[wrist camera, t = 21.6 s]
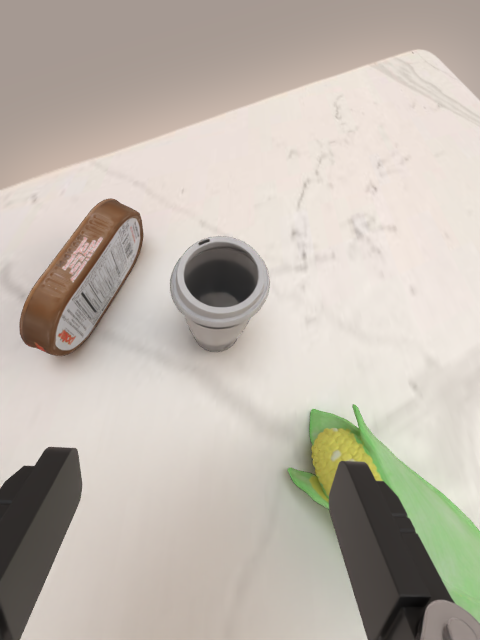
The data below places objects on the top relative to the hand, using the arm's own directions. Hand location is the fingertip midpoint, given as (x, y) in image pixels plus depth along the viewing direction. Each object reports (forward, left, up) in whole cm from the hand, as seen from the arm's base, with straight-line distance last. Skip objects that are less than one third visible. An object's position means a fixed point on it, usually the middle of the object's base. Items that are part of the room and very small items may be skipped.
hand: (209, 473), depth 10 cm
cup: (0, +12, -21) cm, 24 cm away
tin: (-11, +14, -21) cm, 27 cm away
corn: (+15, -4, -21) cm, 26 cm away
